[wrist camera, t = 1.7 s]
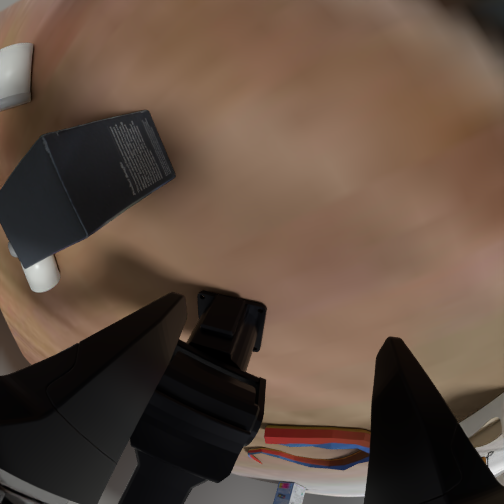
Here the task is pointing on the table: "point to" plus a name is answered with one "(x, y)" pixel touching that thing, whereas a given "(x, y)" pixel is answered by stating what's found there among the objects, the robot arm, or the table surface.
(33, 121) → the table surface
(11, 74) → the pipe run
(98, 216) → the small box
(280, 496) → the ink cartridge box
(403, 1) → the table surface
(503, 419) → the gable box
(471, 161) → the table surface
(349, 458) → the toy snake
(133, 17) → the table surface
